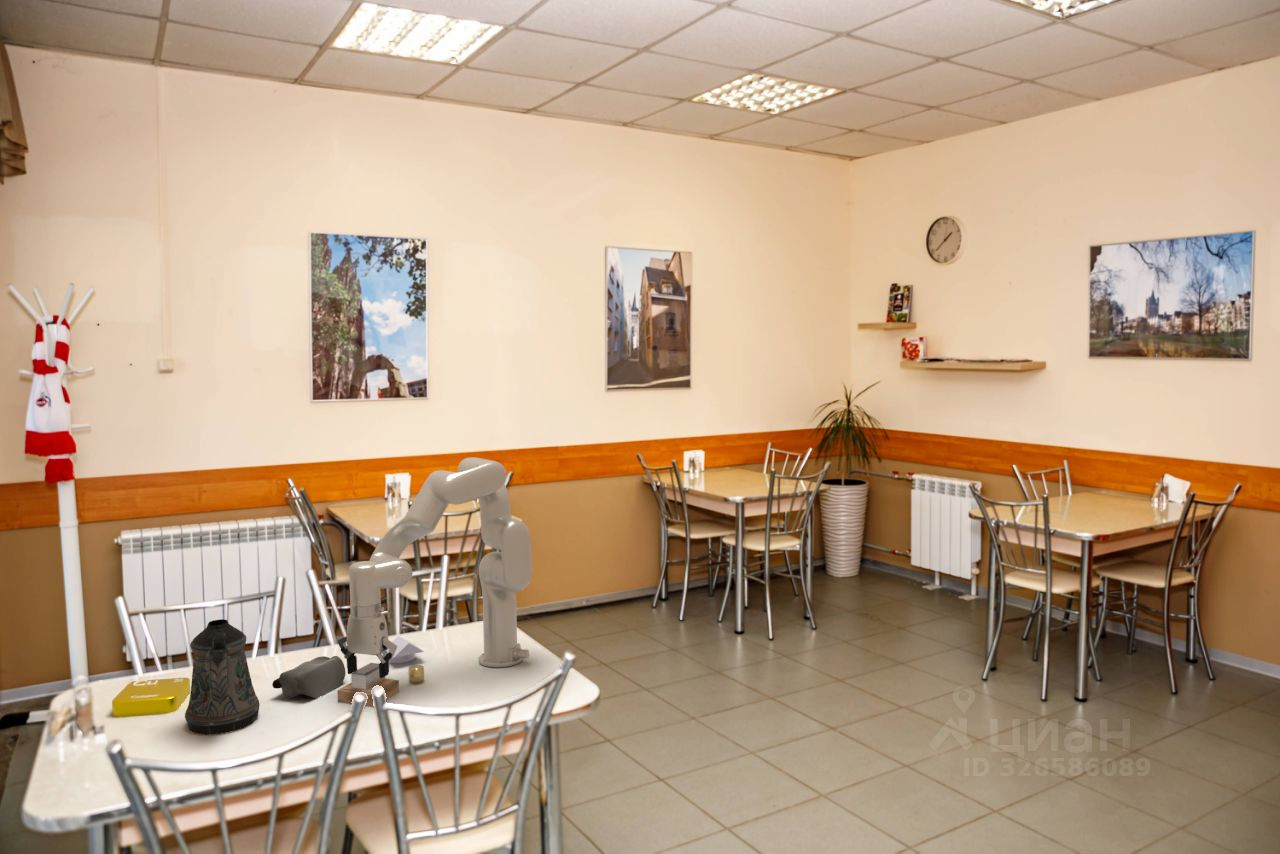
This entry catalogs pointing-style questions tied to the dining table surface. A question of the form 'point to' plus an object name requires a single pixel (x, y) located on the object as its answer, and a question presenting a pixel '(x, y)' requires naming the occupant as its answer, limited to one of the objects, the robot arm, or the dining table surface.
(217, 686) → the ornate dark jug
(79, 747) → the dining table surface
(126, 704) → the element tile
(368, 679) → the block
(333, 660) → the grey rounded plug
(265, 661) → the dining table surface
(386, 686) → the stand
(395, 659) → the wedge on round base
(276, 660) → the dining table surface
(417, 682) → the bushing
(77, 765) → the dining table surface
